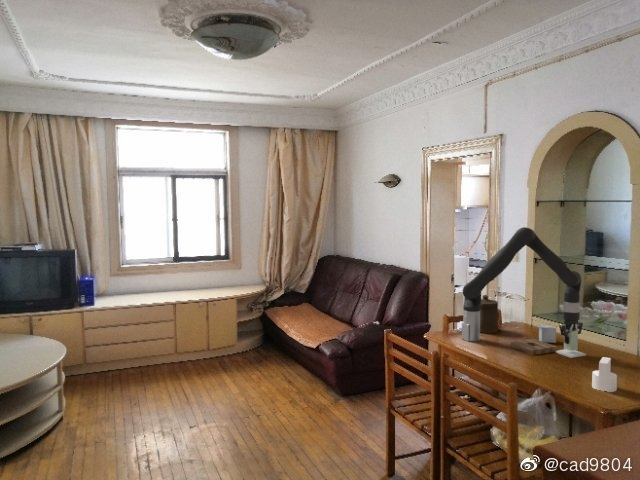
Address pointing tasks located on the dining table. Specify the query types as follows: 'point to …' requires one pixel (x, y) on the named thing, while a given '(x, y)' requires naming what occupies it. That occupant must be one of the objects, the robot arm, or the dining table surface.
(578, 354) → the tile
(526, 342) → the pocket board
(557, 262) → the robot arm
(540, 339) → the medicine box
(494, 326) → the wooden container
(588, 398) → the dining table surface
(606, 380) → the cylinder with rectangular tab
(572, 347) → the green block
